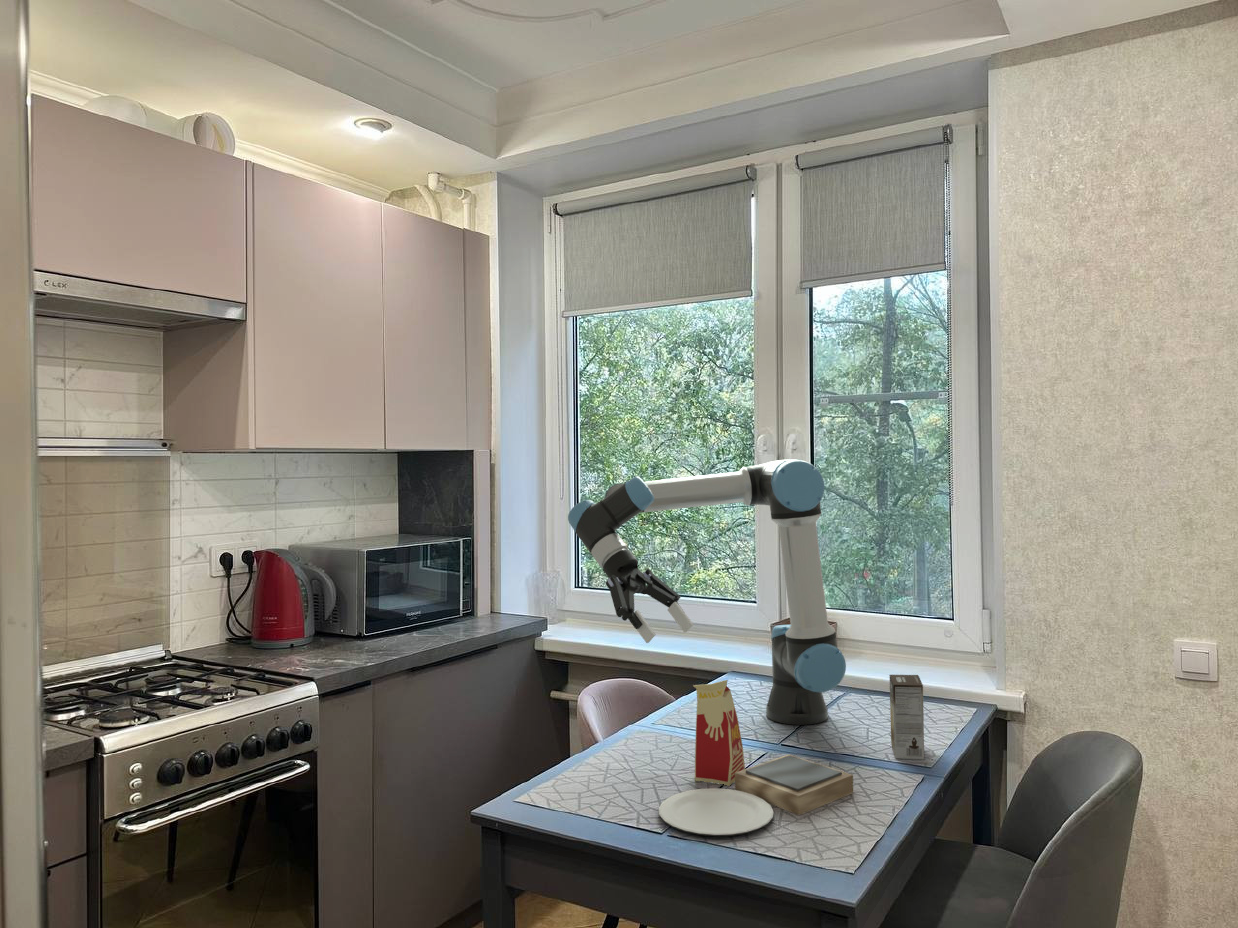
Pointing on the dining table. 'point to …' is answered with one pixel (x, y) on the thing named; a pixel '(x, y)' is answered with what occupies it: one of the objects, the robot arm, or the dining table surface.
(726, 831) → the plate
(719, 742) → the milk carton
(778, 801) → the oak plinth
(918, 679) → the coffee box
